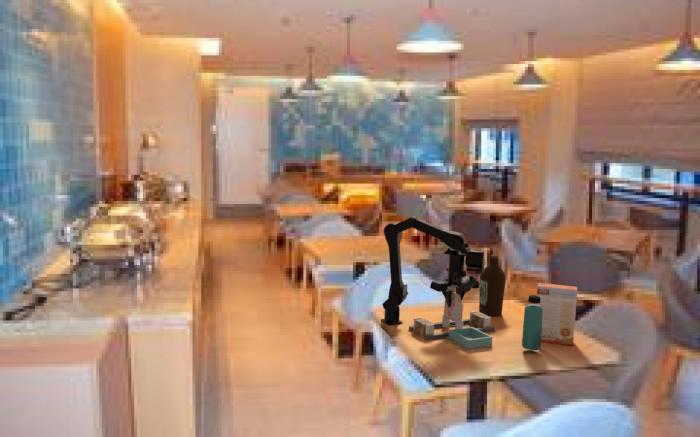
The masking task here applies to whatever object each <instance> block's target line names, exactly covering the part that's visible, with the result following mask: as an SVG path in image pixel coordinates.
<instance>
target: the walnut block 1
mask: <svg viewBox="0 0 700 437" xmlns="http://www.w3.org/2000/svg"><path fill="white" fill-rule="evenodd" d="M433 323H434V322H431V321H429V320H427V319H426V318H422V319H418V320H415V331H413V332H414V333H415V334H417V335H418V336H420V337H421V338H424V335H426V325H428V324H433Z"/></svg>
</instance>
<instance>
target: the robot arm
mask: <svg viewBox="0 0 700 437" xmlns="http://www.w3.org/2000/svg"><path fill="white" fill-rule="evenodd" d="M409 229H414V230H417V231H419V232H421V233H424V234H426V235H428V236H431V237H433V238H435V239H438V240H439V241H441V242H442V243H443V244H444V245H446V246H448V248H447V249H446V250H445V251H444V252H443V255H448V266H447V267H446V268H445V270H446V271H447V277H446V278H445V282H444V281H443V280H433V281H431V282H430V286H429V287H430V289H431V290H434V291H435V292H439V293H442V296H443V297H444V301H445V300H446V303H447V305H448V307H451V295H452V293H453V292H454V291H453V290H452V288H455V292H454V293H456V294H458V295H460V298H461V301H462V302H463V299H464V296H465V295H466V293H468V292H470V291H471V290H472V289H480V281H478V280H477V277H476V276H475V275H470V276H468V275H467V271H466V269H465V266H466V267H467V268H468V269H477V270H483V269H484V268H485V264H486V259H485V250H472V248H471V247H470V245H469V244H468V242H467V238H466V235H465V234H464V233H463V232H458V231H455V230H447V229H444V228H442V227H439V226H437V225H435V224H433V223H430V222H428V221H426V220H423V219H420V218H418V216H415V215H413V216H412V215H411V217H408V218H407V219H404V220H401V221H399V222H397V221H392V222H390V223H388V224H386V225H384V229H383V233H384V234H383V235H384V238H385V241H386V243H387V247H388V255H389V256H388V258H389V272H390V286H389V291H388V298H387V299H385V301H384V302H383V303H382V308H383V309H384V314H383V316H384V317H383V318H381V319H380V321H381V322H383V323H384V324H387V325H388V326H389V325H390V326H391V325H392V326H393V325H398V324H399V325H400V324H403V321H402V320H400V312H401V309H400V306H401V305H402V303H403V302H405V300H406V299H407V296H408V295H409V292H408V283H406V284H404V281H403V273H402V260H401V259H402V258H401V257H402V256H401V242H402V236H403V232H405V231H407V230H409Z"/></svg>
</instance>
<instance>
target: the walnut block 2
mask: <svg viewBox="0 0 700 437" xmlns="http://www.w3.org/2000/svg"><path fill="white" fill-rule="evenodd" d="M486 317H490V316H487V315H485V314H483V313H481V312H479V311H478V312H477V313H472V316H471V324H470V326H471V325H472V326H471V327H473V328H475V327H476V328H482V327H483V320H484V318H486Z"/></svg>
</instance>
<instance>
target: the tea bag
mask: <svg viewBox="0 0 700 437" xmlns="http://www.w3.org/2000/svg"><path fill="white" fill-rule="evenodd" d="M443 309H444V310H443V315H444V316H445V317H446V318H448V319H450V321H461V320H463V312H464V311H463V310H464V304H463V300H462V301H461V298H460V295H458V294H456V292H453V293H452V295H451V307H448V305H447V303H446V300H445V299H444V308H443Z"/></svg>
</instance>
